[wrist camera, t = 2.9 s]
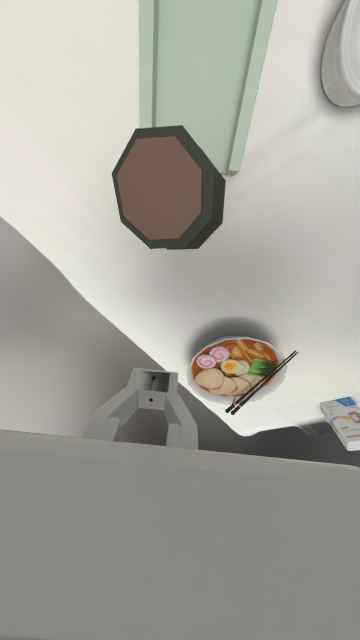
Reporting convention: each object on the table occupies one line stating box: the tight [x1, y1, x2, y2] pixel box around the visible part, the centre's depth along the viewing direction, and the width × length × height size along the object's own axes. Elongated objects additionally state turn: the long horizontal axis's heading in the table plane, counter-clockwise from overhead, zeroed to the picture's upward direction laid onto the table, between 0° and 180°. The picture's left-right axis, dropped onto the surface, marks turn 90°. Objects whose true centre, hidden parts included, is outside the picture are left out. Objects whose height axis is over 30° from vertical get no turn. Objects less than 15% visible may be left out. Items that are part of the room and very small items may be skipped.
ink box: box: [320, 397, 360, 451], centre depth 51 cm, size 9×5×12 cm, turn 117°
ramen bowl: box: [187, 335, 298, 415], centre depth 44 cm, size 25×23×8 cm
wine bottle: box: [112, 125, 225, 250], centre depth 18 cm, size 8×8×30 cm
